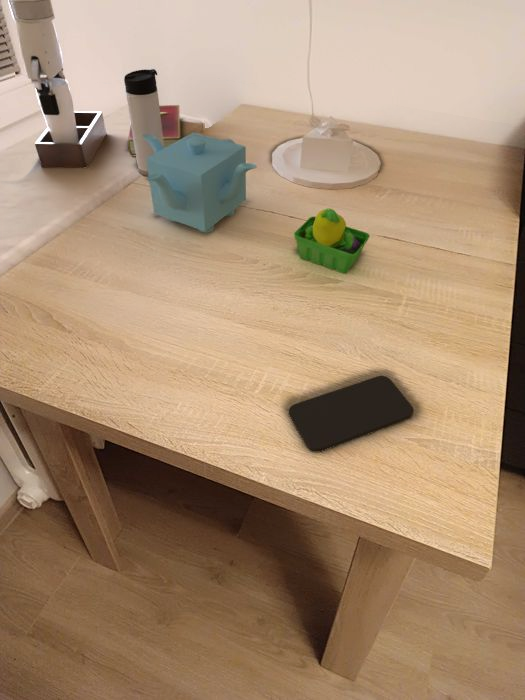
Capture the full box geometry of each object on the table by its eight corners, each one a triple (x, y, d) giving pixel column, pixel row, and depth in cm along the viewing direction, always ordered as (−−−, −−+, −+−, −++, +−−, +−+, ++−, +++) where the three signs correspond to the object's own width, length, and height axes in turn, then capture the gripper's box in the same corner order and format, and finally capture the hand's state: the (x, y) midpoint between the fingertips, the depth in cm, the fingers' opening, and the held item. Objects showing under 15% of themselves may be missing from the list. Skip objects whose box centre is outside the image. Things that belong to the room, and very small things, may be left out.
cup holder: (41, 167, 112) (34, 143, 108) (66, 132, 126) (60, 110, 122) (86, 168, 112) (81, 144, 108) (106, 133, 126) (102, 111, 122)
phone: (285, 406, 64) (385, 372, 68) (285, 410, 64) (384, 376, 68) (312, 452, 59) (417, 413, 63) (311, 456, 59) (416, 417, 64)
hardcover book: (129, 156, 117) (126, 138, 114) (134, 122, 131) (132, 105, 128) (181, 154, 118) (179, 136, 115) (180, 120, 133) (179, 103, 130)
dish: (380, 193, 106) (390, 140, 98) (263, 183, 108) (265, 130, 100) (379, 146, 123) (388, 98, 115) (279, 138, 126) (281, 89, 118)
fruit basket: (366, 258, 89) (378, 200, 81) (346, 284, 83) (357, 224, 75) (309, 239, 93) (315, 182, 85) (286, 263, 87) (290, 204, 79)
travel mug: (171, 173, 111) (160, 74, 97) (141, 178, 109) (125, 78, 95) (164, 162, 115) (152, 65, 101) (135, 166, 113) (119, 68, 99)
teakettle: (236, 188, 106) (235, 117, 96) (258, 235, 94) (259, 158, 83) (147, 198, 103) (135, 125, 92) (157, 248, 90) (144, 169, 80)
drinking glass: (87, 147, 117) (71, 77, 107) (80, 160, 112) (63, 88, 102) (58, 147, 117) (39, 77, 106) (50, 160, 112) (29, 88, 102)
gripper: (27, -1, 101) (52, 93, 114) (-6, 20, 89) (26, 123, 101) (64, 0, 101) (85, 94, 114) (37, 21, 89) (63, 123, 102)
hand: (57, 107), depth 108 cm, fingers closed on drinking glass, 6 cm apart
